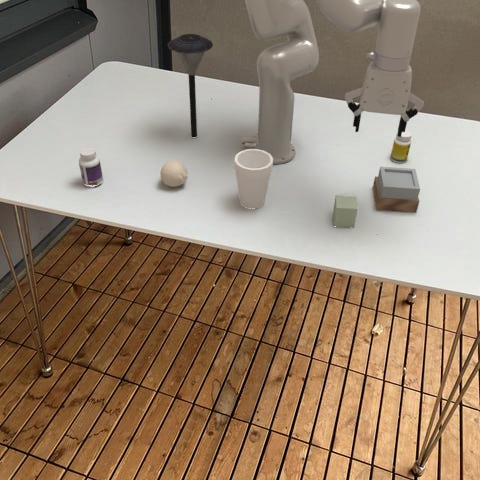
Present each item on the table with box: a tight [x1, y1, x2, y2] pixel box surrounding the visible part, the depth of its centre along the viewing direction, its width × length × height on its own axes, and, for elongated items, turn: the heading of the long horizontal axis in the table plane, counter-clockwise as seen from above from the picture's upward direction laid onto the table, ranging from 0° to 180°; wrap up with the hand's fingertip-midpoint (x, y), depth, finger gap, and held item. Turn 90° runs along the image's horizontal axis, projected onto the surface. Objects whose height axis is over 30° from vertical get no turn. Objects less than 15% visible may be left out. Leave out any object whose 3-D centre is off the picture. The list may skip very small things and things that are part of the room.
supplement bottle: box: [389, 129, 413, 164], centre depth 162 cm, size 5×5×8 cm
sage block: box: [332, 194, 359, 229], centre depth 141 cm, size 5×5×6 cm
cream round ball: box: [160, 160, 189, 188], centre depth 151 cm, size 7×7×7 cm
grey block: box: [377, 166, 421, 200], centre depth 146 cm, size 9×9×4 cm
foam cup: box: [233, 148, 274, 210], centre depth 144 cm, size 10×9×13 cm
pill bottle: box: [78, 146, 104, 186], centre depth 150 cm, size 5×5×10 cm
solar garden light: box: [167, 33, 214, 138], centre depth 162 cm, size 12×12×30 cm
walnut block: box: [372, 176, 420, 213], centre depth 149 cm, size 10×10×4 cm
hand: (378, 131), depth 132 cm, fingers open, 9 cm apart
